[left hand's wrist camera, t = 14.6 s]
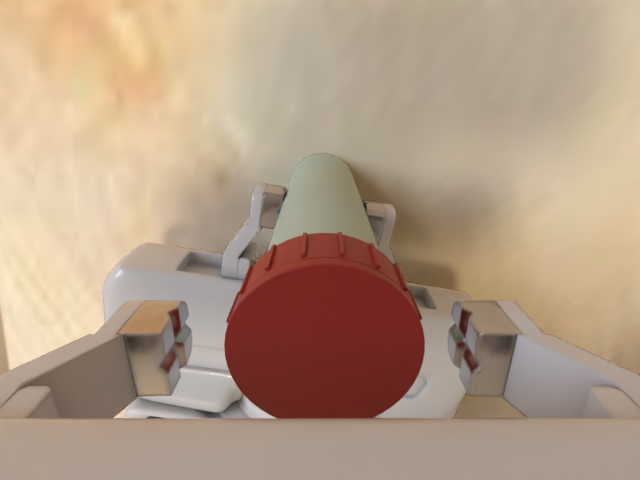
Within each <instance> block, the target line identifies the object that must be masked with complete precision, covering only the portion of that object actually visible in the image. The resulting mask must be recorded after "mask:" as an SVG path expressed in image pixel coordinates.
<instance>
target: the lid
mask: <svg viewBox="0 0 640 480" xmlns="http://www.w3.org/2000/svg"><path fill="white" fill-rule="evenodd" d="M420 320H422V316H421V314H420V311H419V309H418V307H417V304H416V302H415V300H414V298H413V295H412V293H411V291H410V289H408V288H407V285H406V283H405V281H404V278H403V276H402V273H401V271H400V269H399V266H398V265H397V263H394V264H393V263H392V262H391V261H390V260H389V258H388V257H387V256H386V255H384V254H383V253H382V252H381V251H379V250H378V249H377V248H375V245H374V244H373V243H370V244H368V243H366V242H364V241H362V240H360V239H357V238H354V237H351V236H347V235H342V232H338V234H336V233H313V234H307V232H306V233H303V235H302V236H297V237H295V238H292V239H289V240H286V241H284V242H282V243H280V244H278V245H275V244H274V245H272V246H271V249H270V250H269V251H267V252H266V253H265V254H264V255H263V256H262V257H261V258H260V259H259V260H258V261H257V262H256V263H255V264H254V266H251V265H250V266H249V268H248V270H247V273H246V276H245V278H244V281H243V283H242V286H241V288H240V291H239V292H237V295H236V297H235V300H234V302H233V305H232V307H231V310H230V312H229V315H228V317H227V321H226V323H228V325H227V329H226V333H225V342H224V349H225V358H226V362H227V366H228V369H229V372H230V374H231V377H232V378H233V380H234V382H235V384H236V385H237V387H238V388H239V389H240V391H241V392H242V393H243V394H244V395H245V396H246V397H247V398H248V399H249V400H250V401H251V402H252V403H253V404H254V405H256V406H257V407H258V408H259V409H261V410H262V411H264V412H266V413H267V414H269V415H271V416H273V417H275V418H374V417H376V416H378V415H380V414H382V413H383V412H385V411H386V410H388V409H389V408H391V407H392V406H393V405H395V404H396V403H397V402H398V401H399V400H401V399H402V397H403V396H404V395H405V394H406V393H407V392H408V391H409V389H410V388H411V387H412V385H413V384H414V382H415V380H416V378H417V376H418V374H419V372H420V369H421V366H422V363H423V359H424V353H425V338H424V332H423V328H422V324H421V321H420Z"/></svg>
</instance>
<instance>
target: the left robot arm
mask: <svg viewBox="0 0 640 480" xmlns="http://www.w3.org/2000/svg"><path fill="white" fill-rule="evenodd" d="M188 316H189V312H188V306H187V304H186V302H185V301H163V300H128V301H125V302H124V303H123V304H122V305H121V306H120V307H119V308H118V310H117V311H116V312H115V313H114V314H113V315H112V316H111V317H110V318H109V319H108V320H107V322H106V323H105V324H104V325H103V326H102V327H101V328H100V329H99V330H98V331H97V332H96V333H95V335H86V336H84V337H82V338H80V339H78V340H75V341H73V342H71V343H69V344H67V345H64V346H62V347H60V348H58V349H56V350H54V351H51V352H49V353H47V354H45V355H43V356H40V357H38V358H36V359H34V360H32V361H29V362H27V363H25V364H23V365H21V366H19V367H16V368H14V369H12V370H10V371H8V372H5V373H3V374H1V375H0V480H640V375H639V374H637V373H634V372H632V371H630V370H628V369H626V368H623V367H621V366H619V365H617V364H615V363H613V362H610V361H608V360H606V359H604V358H602V357H599V356H597V355H595V354H593V353H591V352H589V351H586V350H584V349H582V348H580V347H578V346H575V345H573V344H571V343H569V342H567V341H565V340H562V339H560V338H558V337H556V336H554V335H545V333H544V332H543V331H542V330H541V329H540V328H539V327H538V326H537V325H536V324H535V323H534V321H533V320H532V319H531V318H530V317H529V316H528V315H527V314H526V313H525V312H524V311H523V310H522V308H521V307H520V306H519V305H518V304H517V303H516V302H515V301H513V300H490V301H456V302H454V304H453V306H452V311H451V316H452V318H453V320H454V322H455V323H454V324H453V325H452V326H451V327H450V329H449V331H448V340H447V341H448V351H449V355H450V358H451V361H452V363H453V365H455V366H456V367H458V368H459V369H460V374H459V377H460V379H461V381H462V384H463V386H464V388H465V390H466V392H467V394H468V396H495V397H503V399H505V400H506V401H507V402H508V403H509V404H511V405H512V406H513V407H514V408H516V409H517V410H518V411H519V412H521V413H522V414H523V415H524V416H525V417H527V418H113V417H115V416H116V415H117V414H118V413H120V412H121V411H122V410H123V409H125V408H126V407H127V406H128V405H129V404H131V403H132V402H133V401H134V400H136V399H137V397H144V396H172V394H173V392H174V390H175V388H176V386H177V384H178V382H179V379H180V377H181V374H180V369H181V368H182V367H184V366H185V365H187V363H188V360H189V358H190V355H191V350H192V331H191V329H190V328H189V326H188V325H187V324H186V323H185V322H186V320H187V318H188Z"/></svg>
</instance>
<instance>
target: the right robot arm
mask: <svg viewBox="0 0 640 480" xmlns="http://www.w3.org/2000/svg"><path fill="white" fill-rule="evenodd" d="M285 195H286V187H282V186H276V185H271V184H267V183H259V182H257V184H256V185H255V187H254V190H253V194H252V200H251V209H250V217H249V218H248V219H247V221H246V222H245V223H244V224H243V226H242V227H241V228H240V229H239V231H238V232H237V233H236V234H235V236H234V237H233V238H232V239H231V241H230V243H229V245H228V246H227V248H226V250H225V252H224V253H223V254H220V253H214V252H207V251H201V250H194V249H188V248H181V247H175V246H168V245H162V244H156V243H143V244H141V245H139V246H138V247H137V248H135V249H134V250H133V251H131V252H130V253H129V254H127V255H126V256H125V257H124V258H122V259H121V260H120V261H119V262H118V263H117V264H116V265H115V266H114V267H113V268H112V270H111V271H110V272H109V273H108V275H107V277H106V279H105V281H104V286H103V308H104V320H105V323H106V322H107V320H108V319H109V318H110V317H111V316H112V315H113V314H114V313H115V312H116V311H117V310H118V308H119V307H120V306H121V305H122V304H123V303H124V302H125V301H128V300H163V301H185V302H186V304H187V306H188V312H189V316H188V318H187V320H186V322H185V323H186V324H187V325H188V326H189V328H190V329H191V331H192V350H191V355H190V358H189V360H188V363H187V365H185V366H184V367H182V368H181V369H180V374H181V377H180V379H179V382H178V384H177V386H176V388H175V390H174V392H173V394H172V396H144V397H137V399H136V400H134V401H133V402H132V403H131V404H129V405H128V406H127V409H126V411H125V414H124V418H275V417H273V416H271V415H269V414H267V413H266V412H264V411H262V410H261V409H259V408H258V407H257V406H256V405H254V404H253V403H252V402H251V401H250V400H249V399H248V398H247V397H246V396H245V395H244V394H243V393H242V392H241V391H240V389H239V388H238V387H237V385H236V384H235V382H234V380H233V378H232V377H231V374H230V372H229V369H228V366H227V362H226V358H225V349H224V342H225V333H226V329H227V325H228V323H226V321H227V317H228V315H229V312H230V310H231V307H232V305H233V302H234V300H235V297H236V295H237V292H239V291H240V288H241V286H242V283H243V281H244V278H245V276H246V273H247V270H248V268H249V266H250V265H251V266H254V264H255V263H256V262H257V261H258V260H259V259H255V257H256V247H257V245H256V244H255V243H252V242H251V241H252V240H253V238H254V237H255V236H256V235H257V233H258V232H259V231H260V230H261V228H262V227H264V228H271V229H275V226H276V223H277V220H278V217H279V213H280V210H281V207H282V204H283V201H284V198H285ZM363 206H364V208H365V211H366V214H367V217H368V220H369V223H370V226H371V228H372V231H373V234H374V237H375V240H376V243H377V245H378V248H379V251H381V252H382V253H383V254H384V255H386V256H387V257H388V258H389V260H390V261H391V262H392V263H393V264H394V263H396V262H395V259H394V256H393V253H392V250H391V247H390V245H389V244H390V240H391V236H392V232H393V229H394V225H395V221H396V210H395V209H394V207H393V205H391V204H385V203H379V202H373V201H366V200H364V202H363ZM405 283H406V285H407V288H408V289H410V291H411V293H412V295H413V298H414V300H415V302H416V304H417V307H418V309H419V311H420V314H421V316H422V320H420V321H421V324H422V328H423V332H424V338H425V353H424V359H423V363H422V366H421V369H420V372H419V374H418V376H417V378H416V380H415V382H414V384H413V385H412V387H411V388H410V389H409V391H408V392H407V393H406V394H405V395H404V396H403V397H402V399H401V400H399V401H398V402H397V403H396V404H395V405H393V406H392V407H391V408H389V409H388V410H386V411H385V412H383V413H382V414H380V415H378V416H376V417H374V418H452V417H453V416H454V415H455V413H456V412H457V410H458V407H459V405H460V402H461V400H462V398H463V397H464V395H465V394H466V393H467V392H466V390H465V388H464V386H463V384H462V381H461V379H460V377H459V374H460V369H459V368H458V367H456V366H455V365H453V363H452V361H451V358H450V355H449V351H448V341H447V340H448V331H449V329H450V327H451V326H452V325H453V324H454V323H455V322H454V320H453V318H452V316H451V311H452V306H453V304H454V302H456V301H475V300H474V299H473V298H472V297H471V296H470V295H469V294H468V293H466V292H463V291H459V290H452V289H446V288H439V287H433V286H426V285H420V284H414V283H407V282H405Z"/></svg>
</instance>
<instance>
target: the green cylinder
mask: <svg viewBox="0 0 640 480" xmlns="http://www.w3.org/2000/svg"><path fill="white" fill-rule="evenodd" d="M306 232H307V234H313V233H336V234H338V232H342V235H347V236H351V237H354V238H357V239H360V240H362V241H364V242H366V243H368V244H370V243H373V244H374V245H375V248H377V249H378V250H379V248H378V245H377V243H376V240H375V237H374V234H373V231H372V228H371V226H370V223H369V220H368V217H367V214H366V211H365V208H364V206H363V203H362V200H361V197H360V194H359V191H358V189H357V186H356V183H355V180H354V177H353V174H352V172H351V170H350V168H349V167H348V165H347V164H346V163H345V162H344V161H343V160H341V159H340V158H338V157H336V156H334V155H331V154H326V153H320V154H314V155H311V156H308V157H307V158H305V159H303V160H302V161H301V162H300V163H299V164H298V165H297V166H296V168H295V169H294V171H293V173H292V176H291V179H290V182H289V185H288V189H287V192H286V195H285V198H284V201H283V204H282V207H281V210H280V213H279V217H278V220H277V223H276V226H275V229H274V232H273V235H272V238H271V241H270V245H269V248H268V251H269V250H270V249H271V246H272V245H274V244H275V245H278V244H280V243H282V242H284V241H286V240H289V239H292V238H295V237H297V236H302V235H303V233H306Z"/></svg>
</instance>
